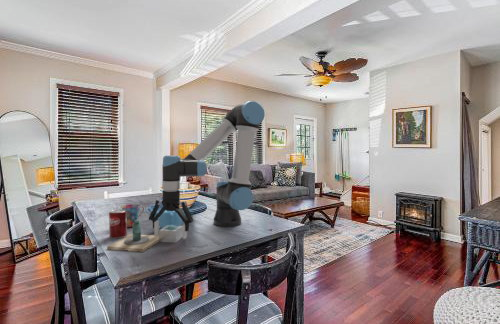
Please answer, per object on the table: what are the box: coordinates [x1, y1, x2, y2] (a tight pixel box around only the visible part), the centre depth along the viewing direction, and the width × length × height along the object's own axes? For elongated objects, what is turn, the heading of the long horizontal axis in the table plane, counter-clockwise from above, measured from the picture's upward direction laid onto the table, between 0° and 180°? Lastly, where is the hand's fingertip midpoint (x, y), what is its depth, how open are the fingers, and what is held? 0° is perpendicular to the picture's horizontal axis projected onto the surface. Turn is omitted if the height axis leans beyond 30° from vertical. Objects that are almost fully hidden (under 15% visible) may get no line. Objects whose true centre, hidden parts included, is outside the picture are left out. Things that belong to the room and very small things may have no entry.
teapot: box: [154, 206, 190, 229], centre depth 137 cm, size 13×14×11 cm
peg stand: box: [107, 219, 159, 253], centre depth 115 cm, size 16×16×10 cm
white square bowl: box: [158, 225, 183, 243], centre depth 121 cm, size 8×8×5 cm
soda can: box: [108, 208, 128, 240], centre depth 125 cm, size 7×7×12 cm
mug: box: [121, 203, 145, 228], centre depth 143 cm, size 12×9×11 cm
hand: (170, 236), depth 121 cm, fingers open, 13 cm apart
